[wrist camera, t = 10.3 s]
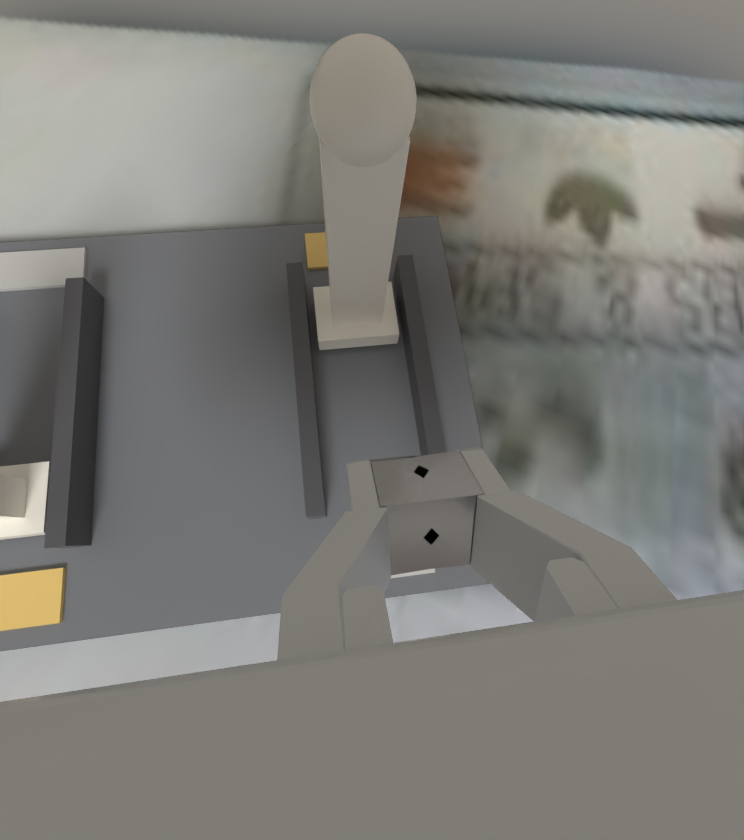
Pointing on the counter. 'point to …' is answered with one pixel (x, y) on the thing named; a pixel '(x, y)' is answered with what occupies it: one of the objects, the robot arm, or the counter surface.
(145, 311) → the switch panel
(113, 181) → the counter surface
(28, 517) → the inner slider
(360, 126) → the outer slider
